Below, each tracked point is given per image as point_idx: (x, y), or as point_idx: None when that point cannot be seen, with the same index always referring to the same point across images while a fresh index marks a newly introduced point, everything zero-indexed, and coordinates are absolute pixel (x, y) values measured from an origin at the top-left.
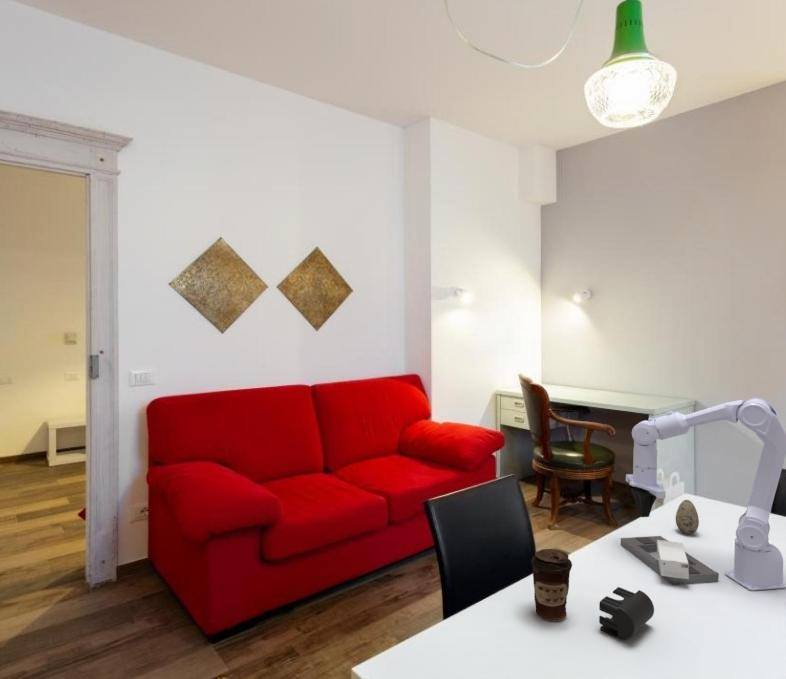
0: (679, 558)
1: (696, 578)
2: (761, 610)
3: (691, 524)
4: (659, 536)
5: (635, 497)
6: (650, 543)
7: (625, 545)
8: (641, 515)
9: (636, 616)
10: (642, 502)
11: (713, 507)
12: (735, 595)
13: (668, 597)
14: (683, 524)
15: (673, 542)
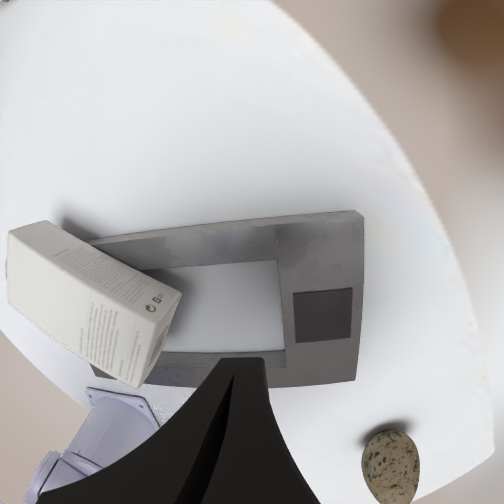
0: (19, 296)
1: None
2: (33, 350)
3: (364, 464)
4: (350, 376)
5: (255, 490)
6: (294, 321)
7: (318, 216)
8: (217, 362)
9: None
10: (124, 457)
11: (446, 476)
12: (61, 351)
13: (20, 201)
14: (378, 451)
15: (130, 365)
